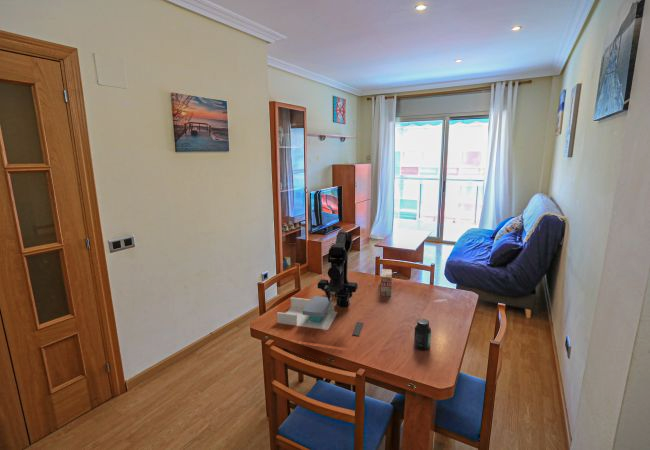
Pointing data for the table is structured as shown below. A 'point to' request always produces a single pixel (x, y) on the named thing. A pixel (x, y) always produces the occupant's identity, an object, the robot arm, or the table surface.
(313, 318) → the teal block
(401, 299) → the table surface
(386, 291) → the stack of blocks
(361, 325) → the rubber mat
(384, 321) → the table surface
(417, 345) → the supplement bottle
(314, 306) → the sliding cover
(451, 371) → the table surface
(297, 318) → the open white tray
